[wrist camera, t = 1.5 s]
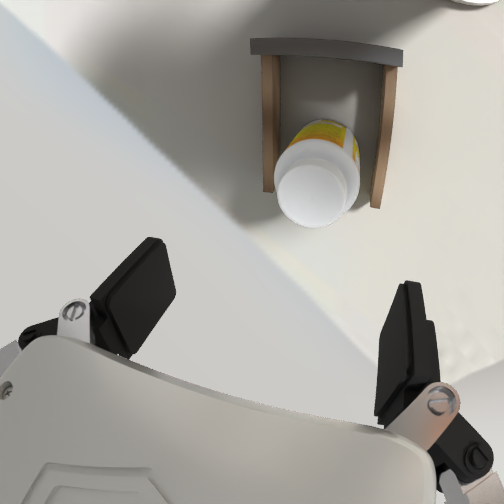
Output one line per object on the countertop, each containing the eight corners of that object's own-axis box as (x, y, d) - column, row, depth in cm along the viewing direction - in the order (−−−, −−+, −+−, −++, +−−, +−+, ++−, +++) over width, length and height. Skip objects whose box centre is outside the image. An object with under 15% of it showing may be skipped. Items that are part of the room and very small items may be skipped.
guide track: (378, 196, 25) (381, 223, 22) (270, 180, 28) (254, 204, 24) (393, 52, 18) (403, 50, 14) (269, 42, 20) (250, 38, 17)
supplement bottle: (282, 142, 26) (243, 188, 18) (331, 104, 22) (316, 130, 14) (322, 189, 27) (303, 254, 19) (372, 156, 24) (378, 211, 16)
